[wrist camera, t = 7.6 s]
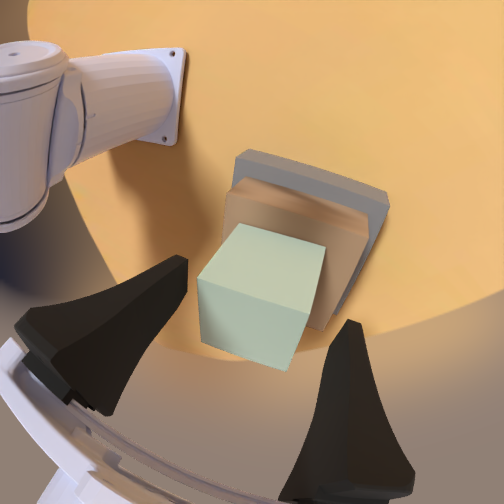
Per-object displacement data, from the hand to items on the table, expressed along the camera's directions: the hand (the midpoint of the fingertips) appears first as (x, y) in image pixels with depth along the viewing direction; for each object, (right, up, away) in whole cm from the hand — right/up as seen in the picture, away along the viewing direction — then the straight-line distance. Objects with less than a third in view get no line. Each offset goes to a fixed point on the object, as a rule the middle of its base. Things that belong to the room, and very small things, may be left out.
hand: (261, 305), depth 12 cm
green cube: (+1, +1, +5) cm, 5 cm away
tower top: (+2, +3, +7) cm, 8 cm away
